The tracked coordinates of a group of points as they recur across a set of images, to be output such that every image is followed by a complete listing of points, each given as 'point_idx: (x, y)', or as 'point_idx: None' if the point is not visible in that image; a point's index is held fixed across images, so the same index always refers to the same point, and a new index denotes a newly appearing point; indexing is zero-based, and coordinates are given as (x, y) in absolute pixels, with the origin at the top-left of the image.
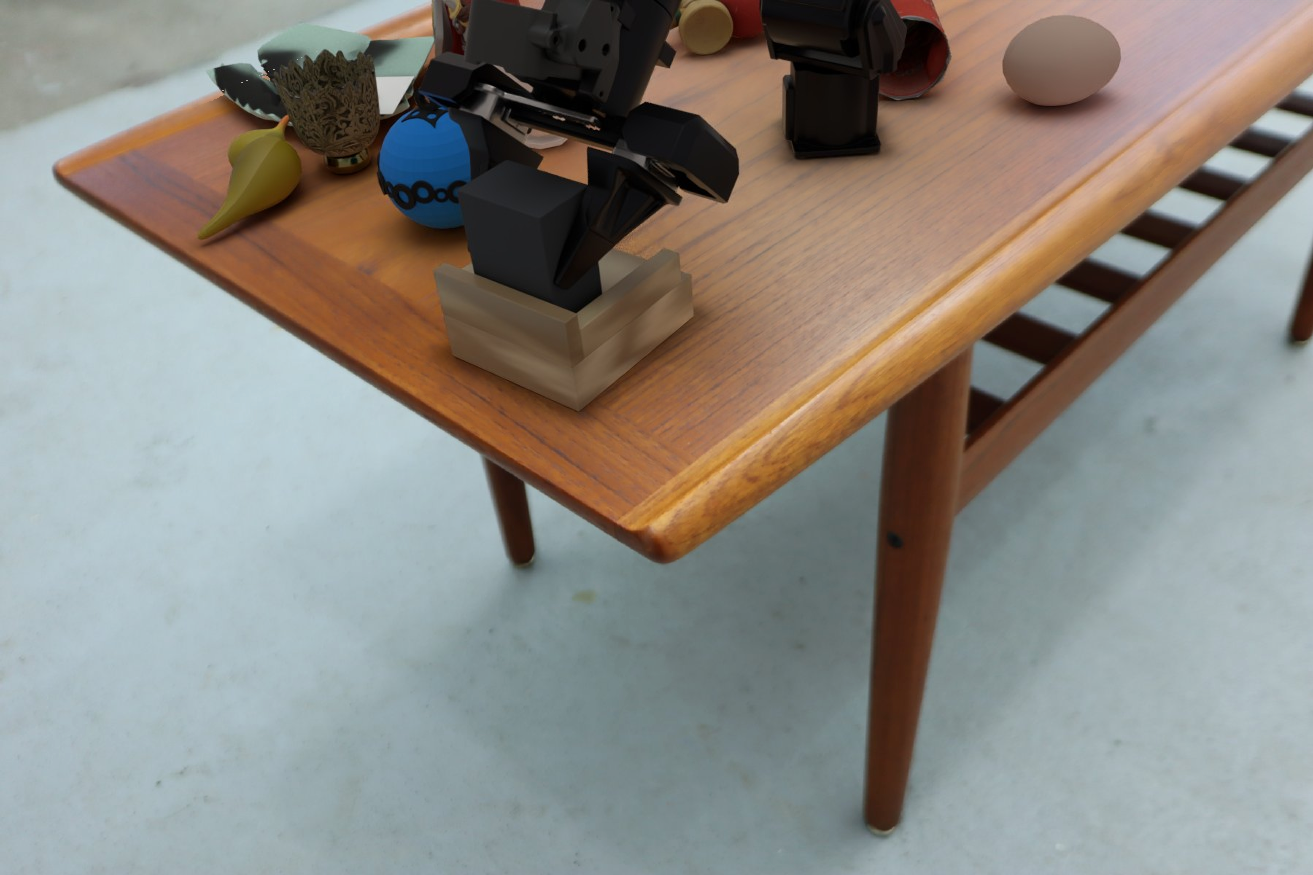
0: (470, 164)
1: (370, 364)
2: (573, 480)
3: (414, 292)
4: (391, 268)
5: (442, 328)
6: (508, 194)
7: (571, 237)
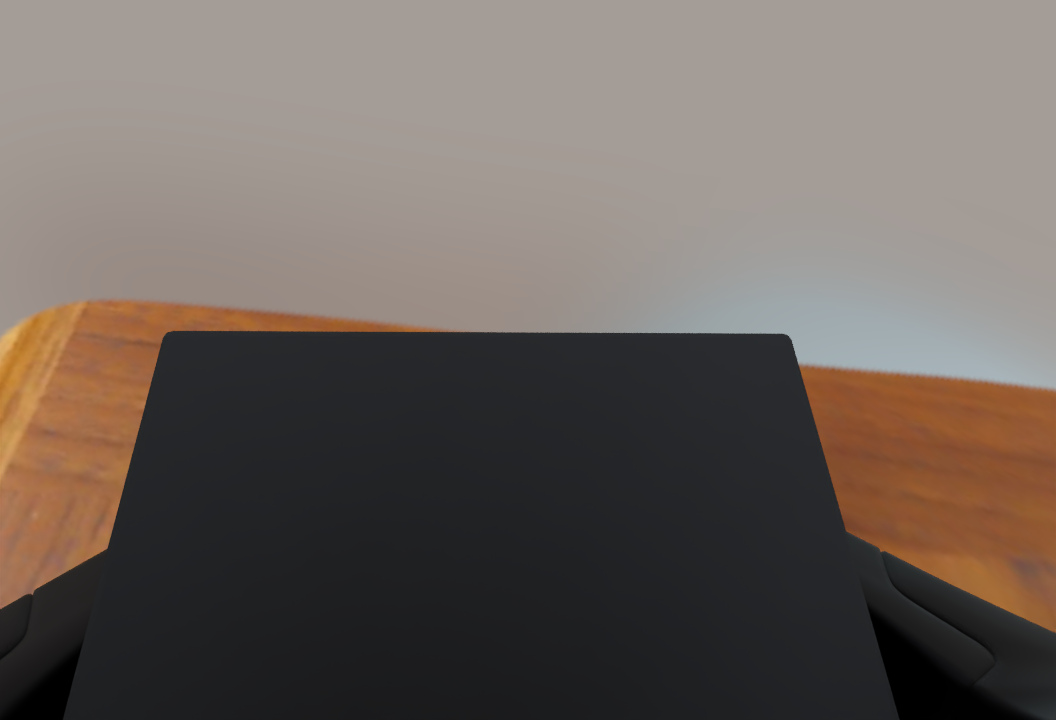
0: (1043, 630)
1: None
2: (209, 327)
3: None
4: (1011, 610)
5: None
6: (514, 433)
7: None
